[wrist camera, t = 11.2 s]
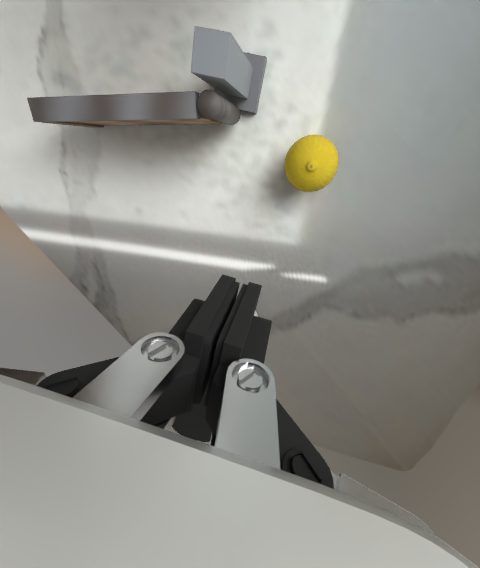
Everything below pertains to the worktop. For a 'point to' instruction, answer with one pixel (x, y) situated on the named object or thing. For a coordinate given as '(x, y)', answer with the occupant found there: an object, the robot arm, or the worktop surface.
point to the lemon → (311, 163)
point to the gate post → (228, 67)
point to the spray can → (195, 421)
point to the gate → (135, 109)
